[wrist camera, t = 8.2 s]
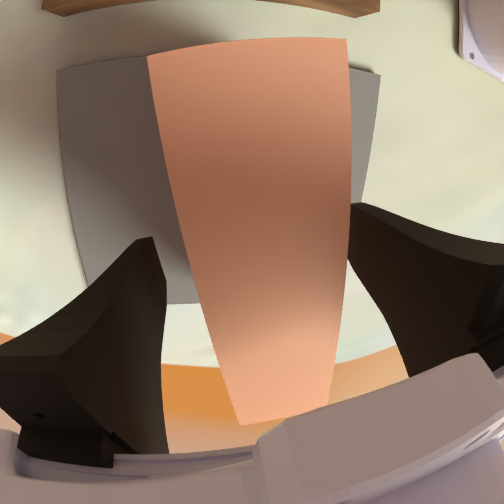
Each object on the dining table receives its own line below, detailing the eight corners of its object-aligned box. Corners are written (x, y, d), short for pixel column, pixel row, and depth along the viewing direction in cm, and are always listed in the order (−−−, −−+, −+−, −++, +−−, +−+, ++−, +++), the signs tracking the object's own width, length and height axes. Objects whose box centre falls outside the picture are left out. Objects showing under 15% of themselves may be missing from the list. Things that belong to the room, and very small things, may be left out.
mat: (375, 74, 13) (380, 74, 13) (335, 289, 20) (338, 294, 20) (60, 70, 11) (56, 70, 10) (96, 299, 18) (94, 304, 17)
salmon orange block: (258, 61, 12) (346, 39, 4) (278, 276, 18) (326, 407, 11) (181, 72, 12) (147, 55, 4) (220, 286, 18) (239, 425, 11)
